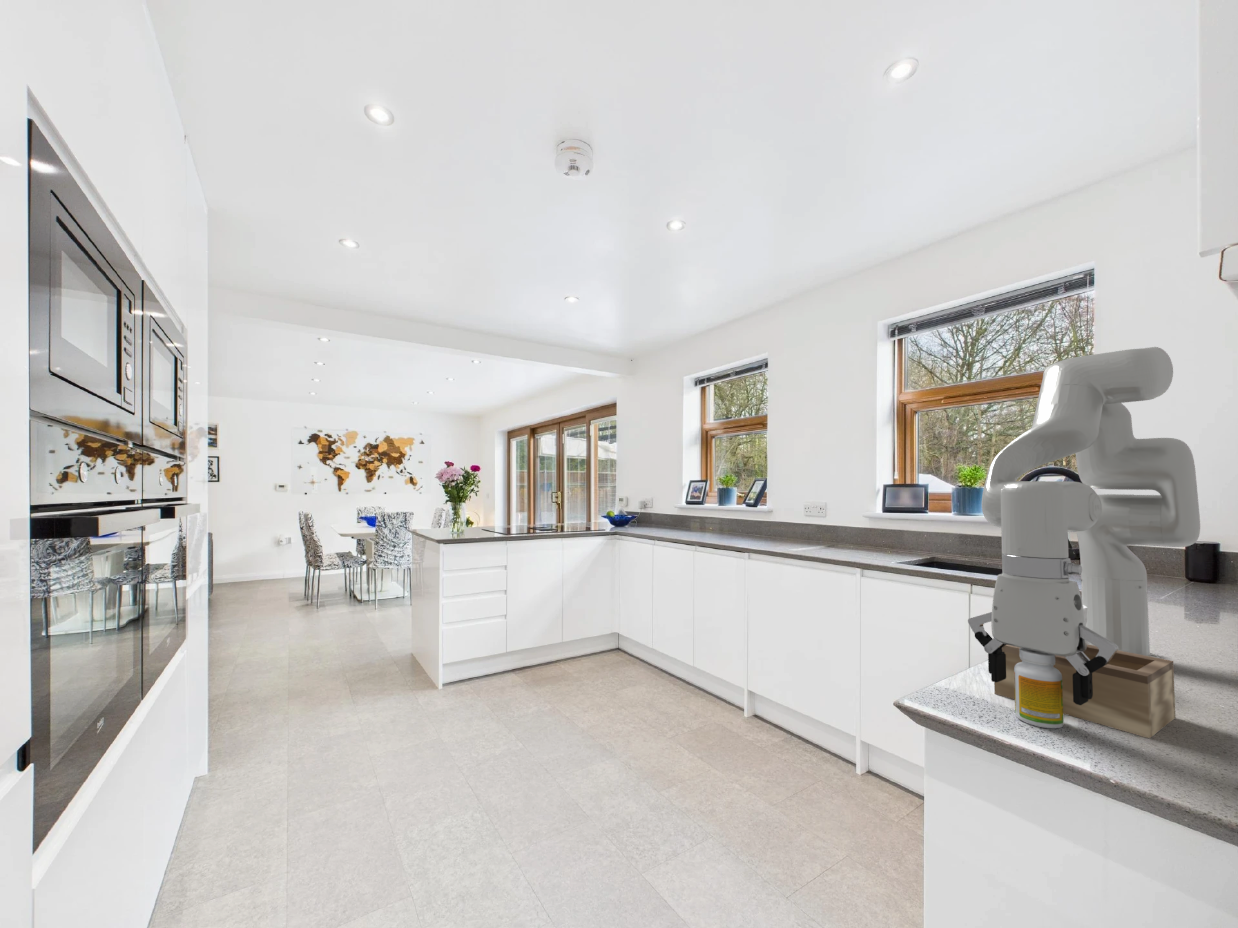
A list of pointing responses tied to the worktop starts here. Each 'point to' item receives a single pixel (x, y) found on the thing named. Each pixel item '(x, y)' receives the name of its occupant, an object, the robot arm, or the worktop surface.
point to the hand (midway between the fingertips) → (1037, 690)
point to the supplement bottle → (1038, 690)
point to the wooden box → (1113, 690)
